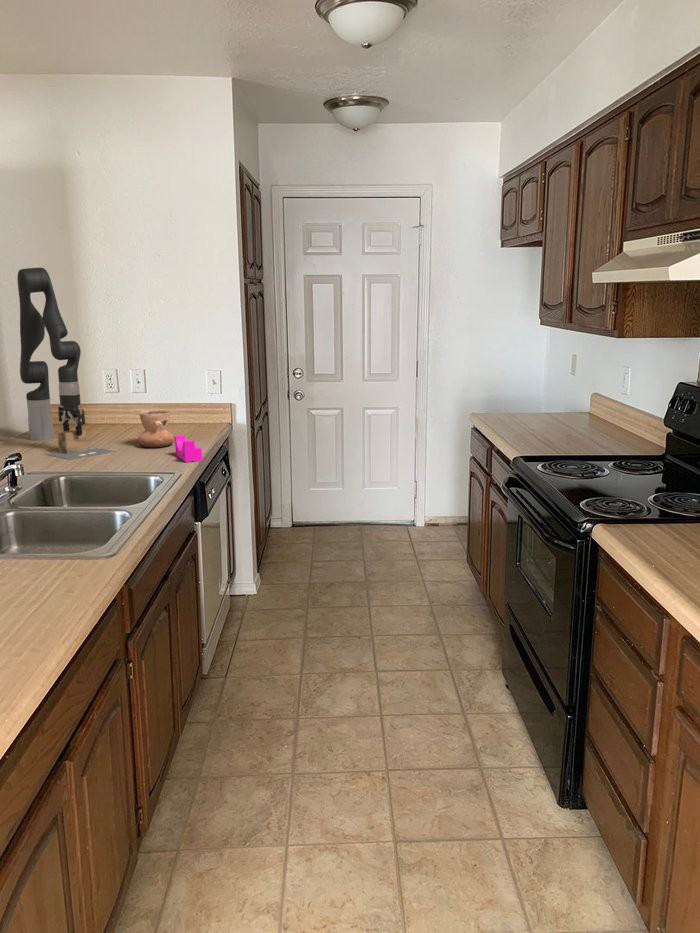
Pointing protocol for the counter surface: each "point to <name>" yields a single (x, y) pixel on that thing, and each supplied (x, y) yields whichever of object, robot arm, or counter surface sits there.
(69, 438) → the walnut block
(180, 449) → the toy block
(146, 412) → the ceramic jug
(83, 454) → the grey mat
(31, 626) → the counter surface
